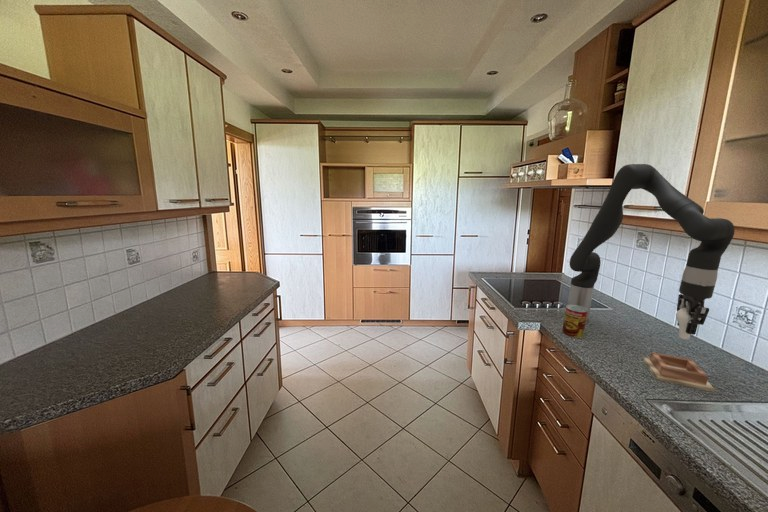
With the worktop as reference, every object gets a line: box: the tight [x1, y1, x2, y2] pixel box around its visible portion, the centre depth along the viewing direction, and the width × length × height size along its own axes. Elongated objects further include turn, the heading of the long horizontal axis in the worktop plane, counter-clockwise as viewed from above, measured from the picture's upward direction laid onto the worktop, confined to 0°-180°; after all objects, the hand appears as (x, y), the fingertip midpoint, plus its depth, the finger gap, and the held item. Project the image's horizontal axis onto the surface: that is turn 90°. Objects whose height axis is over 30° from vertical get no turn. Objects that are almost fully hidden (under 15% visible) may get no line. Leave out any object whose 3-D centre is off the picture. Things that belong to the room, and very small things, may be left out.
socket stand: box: [642, 351, 716, 393], centre depth 102 cm, size 14×14×4 cm
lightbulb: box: [675, 308, 701, 341], centre depth 99 cm, size 6×6×11 cm
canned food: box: [561, 304, 588, 339], centre depth 130 cm, size 8×8×12 cm
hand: (685, 329), depth 99 cm, fingers closed on lightbulb, 5 cm apart
